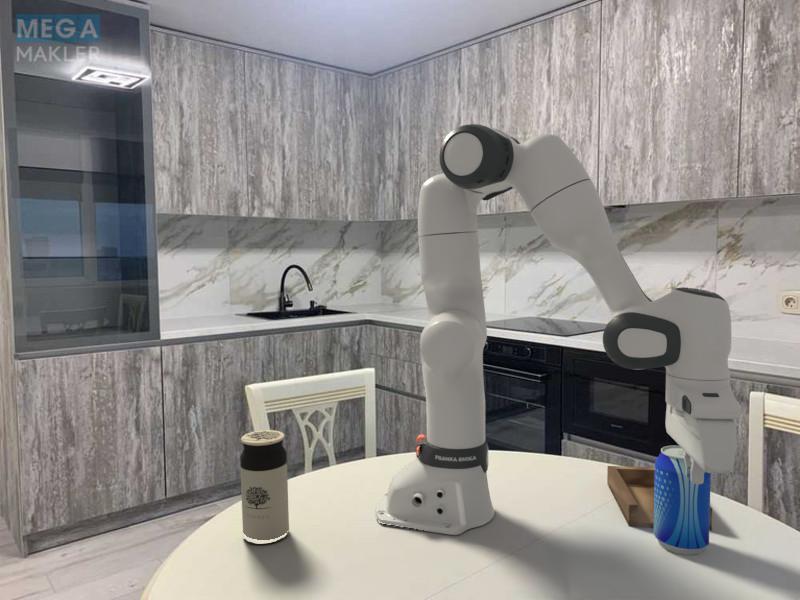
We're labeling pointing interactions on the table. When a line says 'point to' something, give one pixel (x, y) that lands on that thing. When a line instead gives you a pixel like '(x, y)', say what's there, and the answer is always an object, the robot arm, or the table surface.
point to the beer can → (680, 505)
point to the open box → (635, 494)
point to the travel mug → (264, 485)
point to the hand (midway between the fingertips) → (694, 480)
